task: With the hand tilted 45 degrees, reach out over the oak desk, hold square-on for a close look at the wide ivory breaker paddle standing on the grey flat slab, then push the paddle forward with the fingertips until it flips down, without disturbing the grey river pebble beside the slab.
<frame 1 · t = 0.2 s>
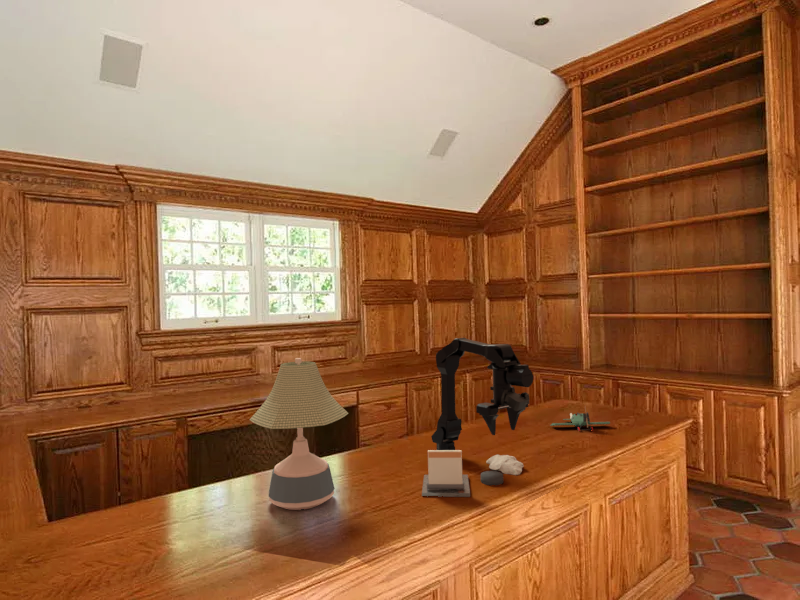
hand: (503, 432, 160), 14 cm above the table, tool pointing down, fingers open, 9 cm apart
grey flat slab: (445, 486, 153), on the table
toy airplane: (578, 427, 222), on the table
breaker paddle: (445, 469, 149), point 7 cm above the table, hinge at 0.0°
decorative stone: (506, 469, 169), on the table
grey river pebble: (492, 482, 157), on the table
desk lamp: (302, 501, 145), on the table
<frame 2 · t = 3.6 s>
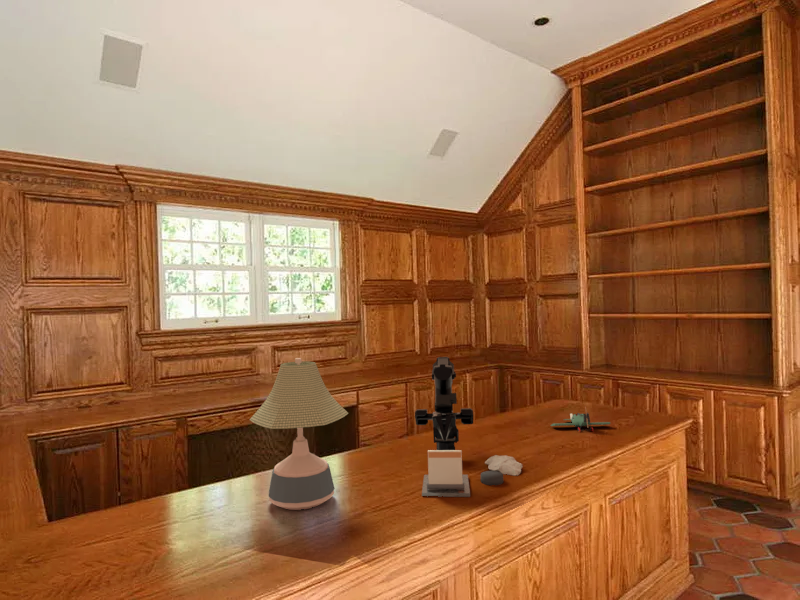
hand: (444, 440, 157), 13 cm above the table, tool tilted 45°, fingers closed
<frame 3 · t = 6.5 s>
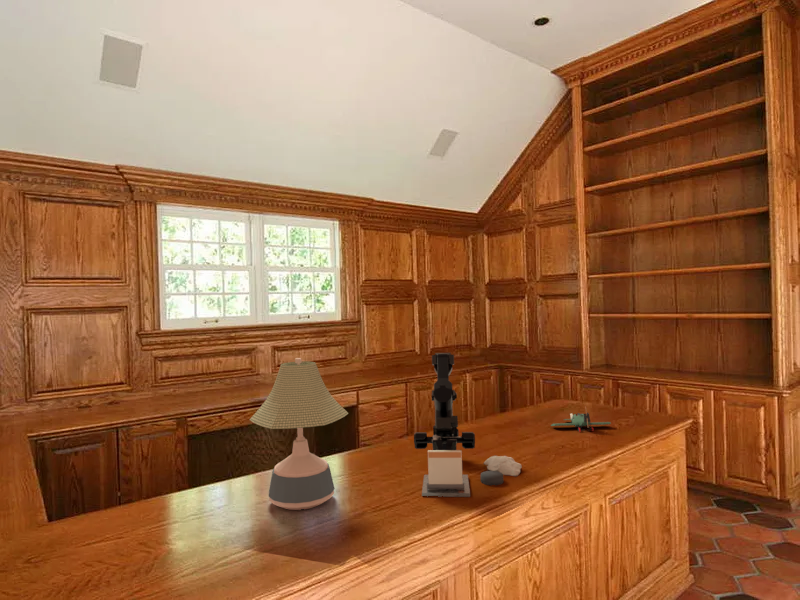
hand: (444, 465, 149), 8 cm above the table, tool tilted 45°, fingers closed, pressing on breaker paddle
breaker paddle: (445, 469, 149), point 7 cm above the table, hinge at 0.3°, touching gripper
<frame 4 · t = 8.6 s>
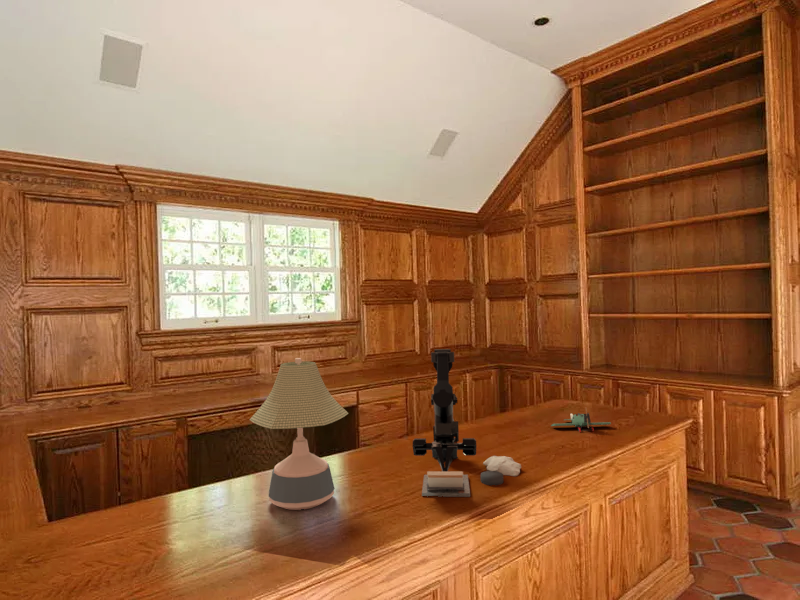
hand: (445, 473, 143), 8 cm above the table, tool tilted 45°, fingers closed
breaker paddle: (445, 480, 145), point 5 cm above the table, hinge at 51.3°
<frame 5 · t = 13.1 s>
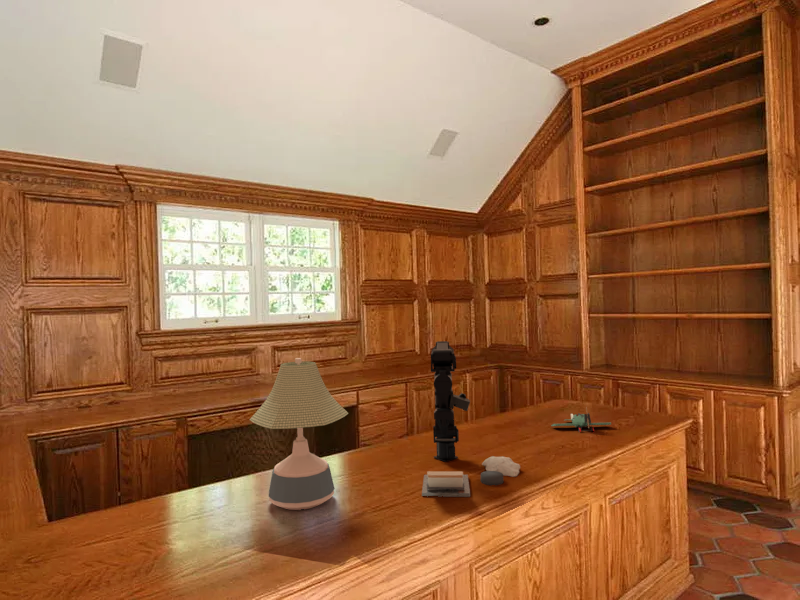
hand: (444, 435, 164), 13 cm above the table, tool pointing down, fingers closed
at the end: breaker paddle at +51° (first picture: +0°); grey river pebble moved 0.3 cm from its start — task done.
